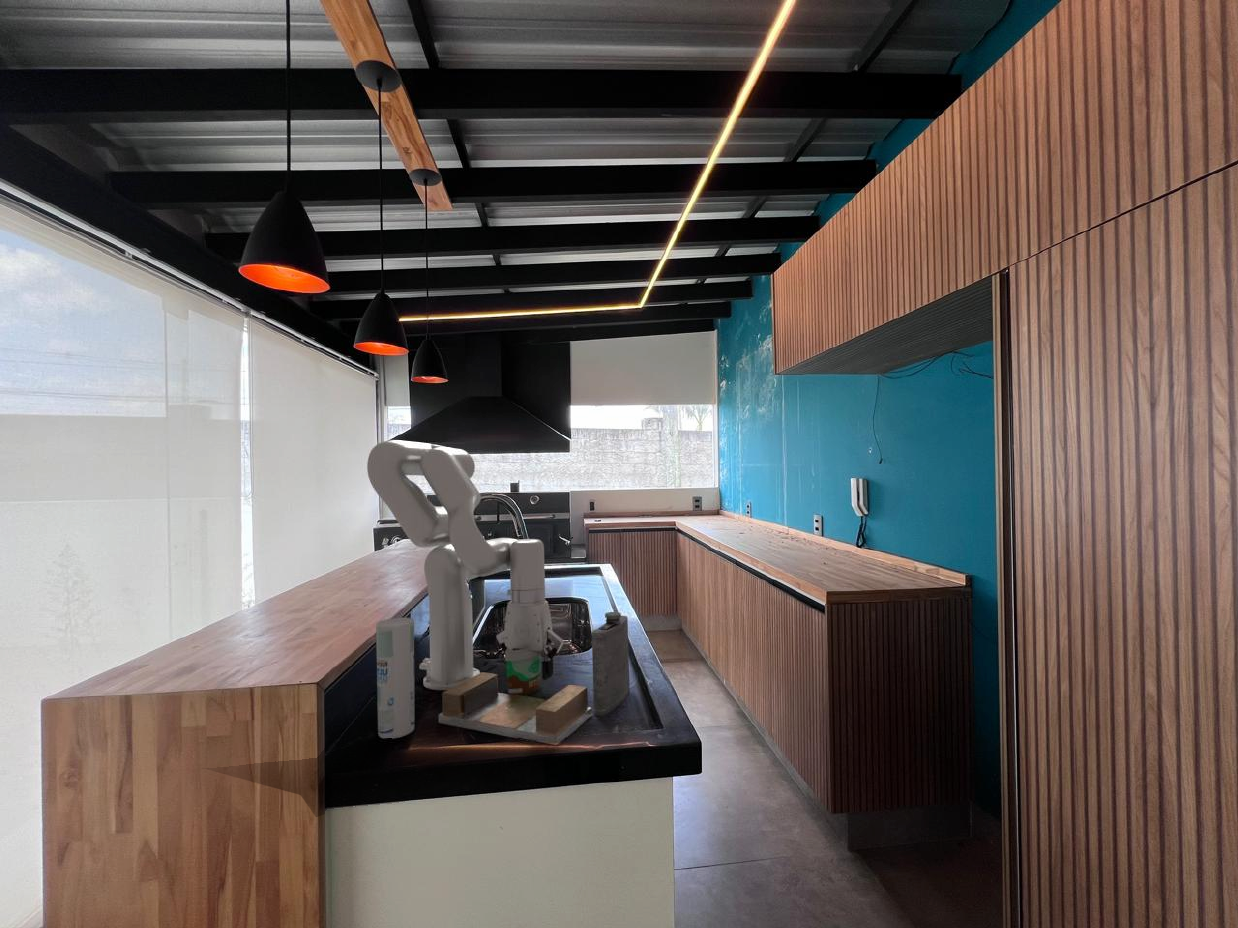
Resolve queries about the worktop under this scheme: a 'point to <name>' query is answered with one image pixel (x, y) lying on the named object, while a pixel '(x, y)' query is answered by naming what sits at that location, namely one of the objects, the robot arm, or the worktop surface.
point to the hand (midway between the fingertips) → (530, 675)
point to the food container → (523, 671)
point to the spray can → (395, 677)
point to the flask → (610, 663)
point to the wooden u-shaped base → (514, 710)
